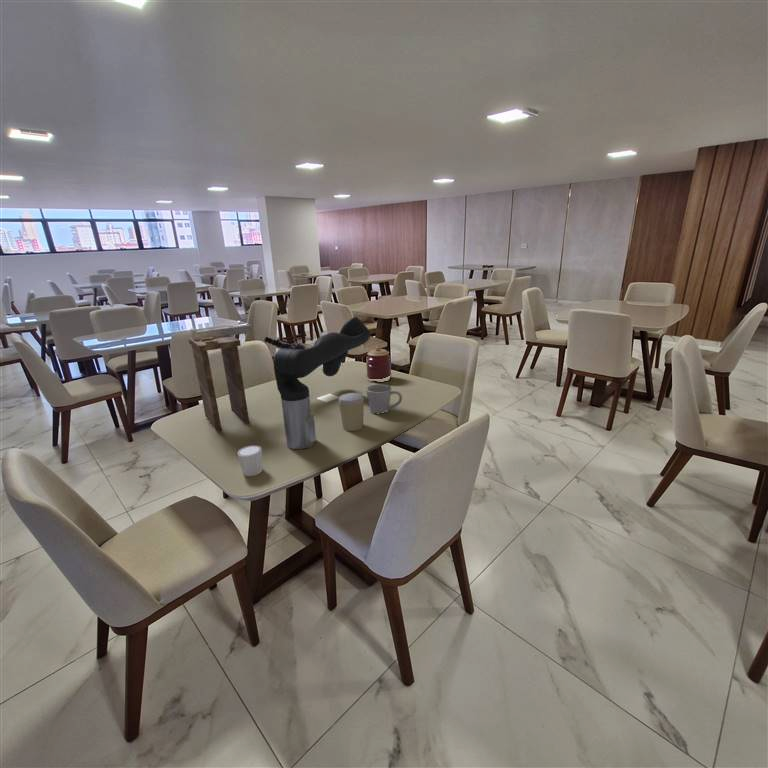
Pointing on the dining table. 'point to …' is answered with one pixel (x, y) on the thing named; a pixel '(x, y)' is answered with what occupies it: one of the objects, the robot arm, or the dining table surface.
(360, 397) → the coffee cup
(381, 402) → the mug
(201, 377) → the walnut stand
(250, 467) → the white ribbed cup
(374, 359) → the canister
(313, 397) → the dining table surface
